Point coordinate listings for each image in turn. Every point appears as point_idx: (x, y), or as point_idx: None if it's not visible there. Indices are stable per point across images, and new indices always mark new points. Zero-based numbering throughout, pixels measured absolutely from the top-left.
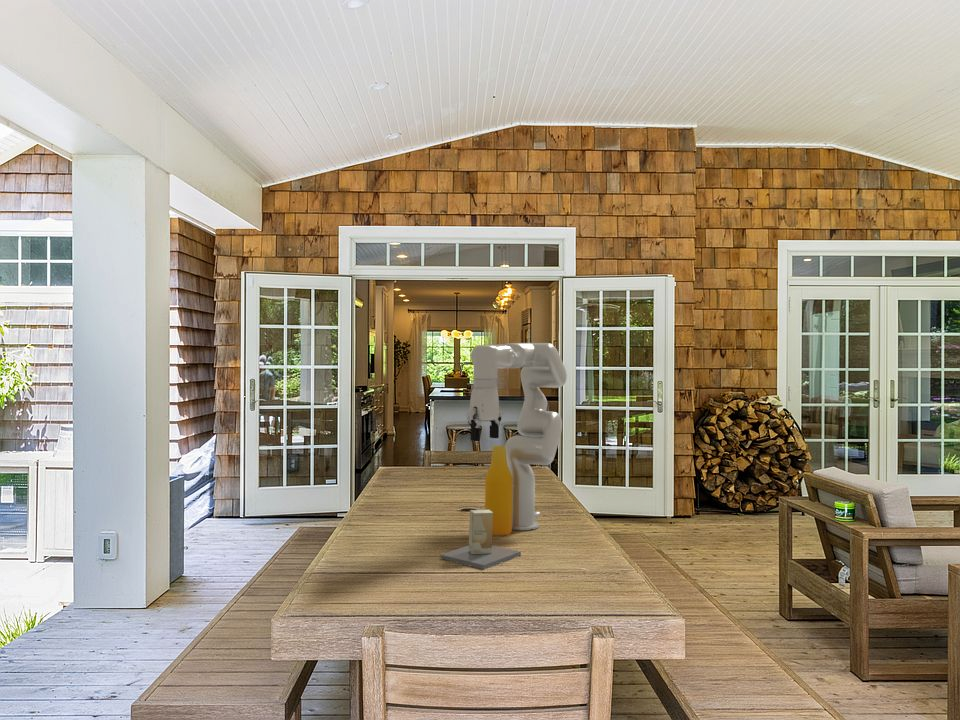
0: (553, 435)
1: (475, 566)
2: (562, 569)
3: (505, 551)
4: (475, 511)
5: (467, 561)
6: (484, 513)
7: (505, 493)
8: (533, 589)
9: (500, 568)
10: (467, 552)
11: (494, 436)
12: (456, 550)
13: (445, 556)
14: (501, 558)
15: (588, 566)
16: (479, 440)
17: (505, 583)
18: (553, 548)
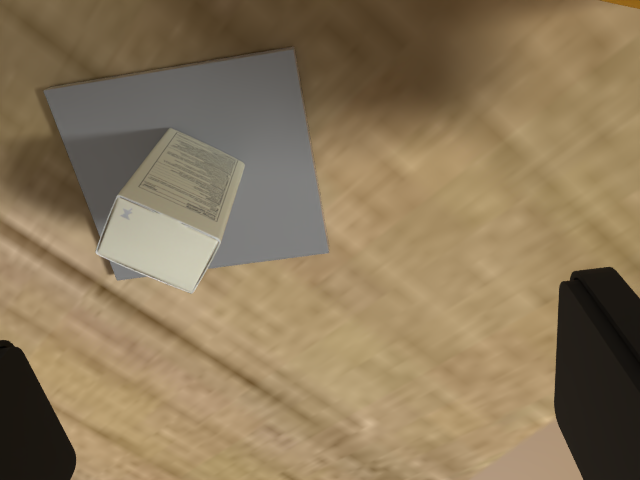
0: None
1: None
2: (315, 399)
3: (284, 219)
4: (122, 237)
5: (93, 216)
6: (150, 276)
7: (630, 6)
8: (134, 442)
9: (173, 295)
10: (155, 138)
11: (565, 389)
12: (133, 86)
13: (54, 116)
14: (212, 267)
15: (394, 423)
16: (62, 469)
17: (100, 382)
18: (490, 259)
